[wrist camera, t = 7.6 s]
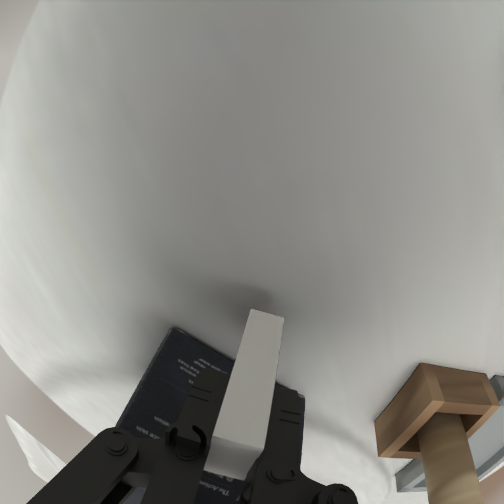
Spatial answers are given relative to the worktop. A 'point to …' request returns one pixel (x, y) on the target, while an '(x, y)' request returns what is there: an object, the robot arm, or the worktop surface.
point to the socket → (433, 407)
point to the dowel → (448, 461)
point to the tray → (481, 445)
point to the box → (171, 403)
